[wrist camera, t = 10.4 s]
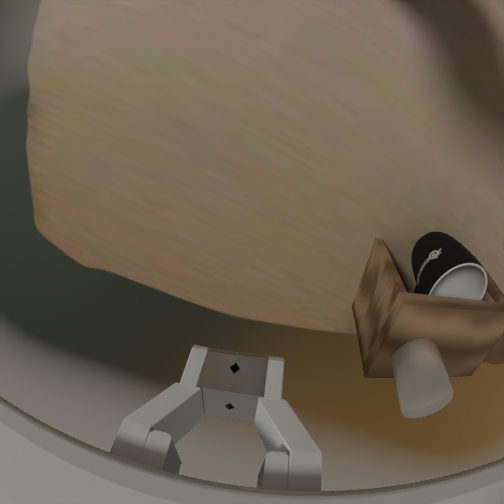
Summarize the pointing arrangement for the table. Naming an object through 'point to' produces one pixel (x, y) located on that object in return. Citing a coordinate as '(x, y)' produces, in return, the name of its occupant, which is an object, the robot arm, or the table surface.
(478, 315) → the open wooden crate
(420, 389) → the white cylinder
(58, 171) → the table surface
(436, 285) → the mug
